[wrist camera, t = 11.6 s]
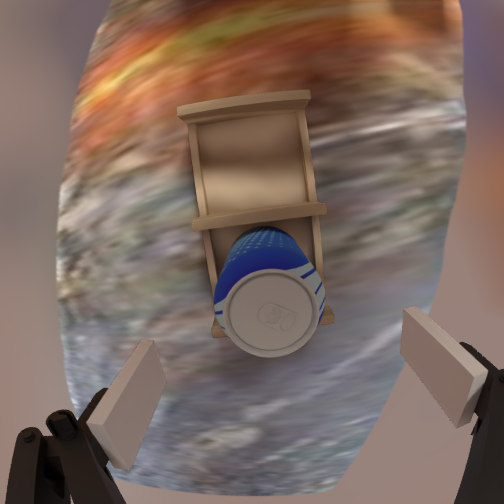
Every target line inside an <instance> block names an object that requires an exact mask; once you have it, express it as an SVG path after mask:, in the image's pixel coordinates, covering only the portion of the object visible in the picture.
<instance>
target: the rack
mask: <svg viewBox="0 0 504 504" xmlns="http://www.w3.org/2000/svg"><path fill="white" fill-rule="evenodd" d="M310 100H311V94H310V89H305V90H290V91H278V92H267V93H258V94H250V95H242V96H235V97H228V98H222V99H215V100H210V101H204V102H199V103H193V104H188V105H183V106H179V107H177V114H178V117H179V118H180V119H182V120H183V121H184V122H185V123H186V124H187V125H188V133H189V142H190V150H191V158H192V165H193V173H194V180H195V187H196V194H197V201H198V208H199V215H200V217H198V218H197V219H195V220H193V221H192V227H193V231H199V230H202V234H203V240H204V246H205V252H206V258H207V264H208V270H209V276H210V281H211V287H212V293H213V298H214V292H215V288H216V284H217V282H218V279H219V277H220V274H221V272H222V269H223V267H224V264H225V262H226V259H227V257H228V254H229V252H230V249H231V247H232V245H233V243H234V242H235V240H236V239H237V238H238V237H239V236H240V235H241V234H243V233H244V232H246V231H247V230H249V229H252V228H255V227H259V226H271V227H276V228H279V229H281V230H283V231H285V232H286V233H288V234H289V235H290V236H291V237H292V238H293V239H294V240H295V241H296V243H297V244H298V245H299V247H300V248H301V250H302V251H303V252H304V254H305V255H306V257H307V258H308V259H309V261H310V262H311V264H312V265H313V266H314V268H315V269H316V271H317V272H318V274H319V276H320V278H321V280H322V283H323V286H324V272H323V258H322V246H321V235H320V225H319V215H324V214H327V207H326V204H325V203H321V202H317V196H316V188H315V179H314V172H313V164H312V156H311V149H310V142H309V136H308V129H307V123H306V117H305V110H304V109H305V107H306V106H307V104H308V103H309V101H310ZM324 290H325V287H324ZM330 323H334V314H333V312H332V310H331V308H330V307H329V305H328V303H327V302H326V300H325V309H324V313H323V316H322V318H321V321H320V323H319V325H324V324H330ZM211 330H212V335H213V338H218V337H228V336H227V335H226V333H225V332H224V331H223V329H222V328H221V326H220V324H219V322H218V320H217V318H216V316H215V319H214V323H213V326H212V329H211Z"/></svg>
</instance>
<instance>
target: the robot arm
mask: <svg viewBox="0 0 504 504" xmlns="http://www.w3.org/2000/svg"><path fill="white" fill-rule="evenodd" d="M400 354H401V355H402V356H403V358H404V359H405V360H406V361H407V363H408V364H409V365H410V367H411V368H412V369H413V371H414V372H415V373H416V374H417V376H418V377H419V378H420V380H421V381H422V382H423V384H424V385H425V386H426V388H427V389H428V390H429V392H430V393H431V394H432V396H433V397H434V399H435V400H436V401H437V403H438V404H439V405H440V407H441V408H442V409H443V411H444V412H445V414H446V415H447V416H448V418H449V419H450V421H451V422H452V423H453V425H454V426H455V428H459V427H461V426H463V425H465V424H467V423H469V422H470V421H471V418H472V416H473V413H474V412H475V413H476V414H477V416H478V420H477V422H476V424H475V426H474V428H473V431H472V433H471V435H473V434H474V435H473V440H472V444H471V448H470V453H469V457H468V460H467V464H466V468H465V471H464V475H463V478H462V481H461V484H460V487H459V490H458V493H457V496H456V499H455V502H454V504H504V369H501V370H498V369H497V368H496V367H495V366H494V365H493V364H491V363H490V362H489V361H488V360H487V359H486V358H485V357H484V356H483V357H482V355H481V354H480V353H479V352H477V350H476V349H475V348H473V347H472V346H471V345H469V344H467V343H464V342H460V343H457V342H456V341H455V340H454V339H453V338H452V337H451V336H450V335H448V334H447V333H446V332H445V331H444V330H443V329H441V328H440V327H439V326H438V325H437V324H436V323H435V322H434V321H432V320H431V319H430V318H429V317H428V316H427V315H425V314H424V313H423V312H422V311H421V310H419V309H418V308H417V307H416V306H415V307H410V308H406V309H404V310H403V324H402V336H401V346H400ZM166 383H167V381H166V378H165V375H164V372H163V369H162V365H161V362H160V359H159V356H158V353H157V349H156V346H155V342H154V340H148V341H140V343H139V344H138V346H137V347H136V349H135V350H134V352H133V353H132V354H131V356H130V357H129V359H128V360H127V362H126V363H125V365H124V366H123V368H122V369H121V371H120V372H119V374H118V375H117V376H116V378H115V379H114V381H113V382H112V384H111V385H110V387H109V388H103V389H101V390H100V391H99V392H97V393H96V394H95V396H94V397H93V399H92V400H91V402H90V403H89V404H88V406H87V407H86V409H85V410H84V412H83V413H82V415H81V416H80V417H79V419H78V420H77V419H76V418H75V416H74V414H73V413H72V412H71V411H69V410H58V411H56V412H54V413H52V414H51V415H49V416H48V418H47V420H46V425H47V427H48V428H49V430H50V432H51V433H52V435H53V436H43V435H42V433H41V432H40V430H39V429H38V428H35V427H29V428H26V429H24V430H22V431H21V432H20V433H19V434H18V437H17V440H16V444H15V448H14V453H13V458H12V463H11V468H10V473H9V479H8V486H7V493H6V501H5V504H71V500H70V499H71V498H70V494H71V497H72V500H73V503H74V504H126V502H125V500H124V499H123V497H122V495H121V493H120V491H119V489H118V487H117V485H116V484H115V482H114V480H113V478H112V476H111V474H110V471H109V470H108V468H107V467H106V465H107V463H108V460H109V461H110V462H111V463H112V465H113V466H114V468H117V469H123V470H129V471H131V468H132V466H133V463H134V461H135V458H136V456H137V453H138V451H139V448H140V446H141V443H142V441H143V438H144V436H145V433H146V431H147V429H148V426H149V424H150V421H151V419H152V416H153V414H154V412H155V409H156V407H157V404H158V402H159V400H160V397H161V395H162V393H163V390H164V388H165V386H166Z"/></svg>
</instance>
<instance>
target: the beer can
mask: <svg viewBox="0 0 504 504" xmlns="http://www.w3.org/2000/svg"><path fill="white" fill-rule="evenodd" d="M324 309H325V290H324V286H323V283H322V280H321V278H320V276H319V274H318V272H317V271H316V269H315V268H314V266H313V265H312V264H311V262H310V261H309V259H308V258H307V257H306V255H305V254H304V252H303V251H302V250H301V248H300V247H299V245H298V244H297V243H296V241H295V240H294V239H293V238H292V237H291V236H290V235H289V234H288V233H286V232H285V231H283V230H281V229H279V228H276V227H271V226H259V227H255V228H252V229H249V230H247V231H246V232H244V233H243V234H241V235H240V236H239V237H238V238H237V239H236V240H235V242H234V243H233V245H232V247H231V249H230V252H229V254H228V257H227V259H226V262H225V264H224V267H223V269H222V272H221V274H220V277H219V279H218V282H217V284H216V288H215V292H214V310H215V315H216V318H217V320H218V322H219V324H220V326H221V328H222V329H223V331H224V332H225V333H226V335H227V336H228V337H229V338H230V339H231V340H232V341H233V342H234V343H235V344H236V345H237V346H238V347H239V348H241V349H242V350H244V351H246V352H248V353H250V354H252V355H255V356H259V357H268V358H272V357H280V356H284V355H288V354H290V353H292V352H294V351H296V350H298V349H299V348H301V347H302V346H303V345H305V344H306V343H307V342H308V341H309V339H310V338H311V337H312V335H313V334H314V332H315V330H316V328H317V326H318V325H319V323H320V321H321V318H322V316H323V313H324Z"/></svg>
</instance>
